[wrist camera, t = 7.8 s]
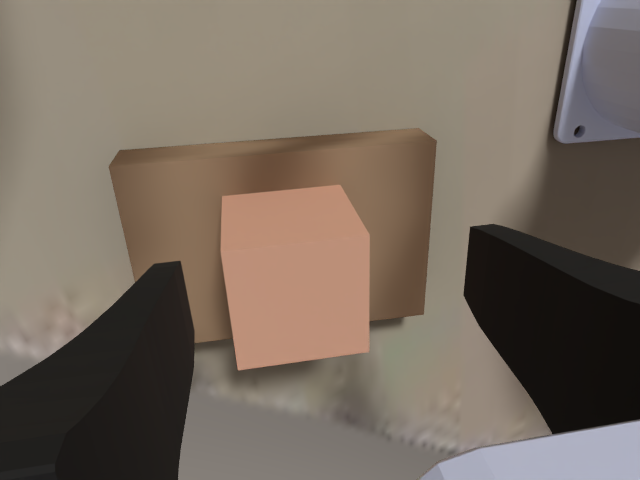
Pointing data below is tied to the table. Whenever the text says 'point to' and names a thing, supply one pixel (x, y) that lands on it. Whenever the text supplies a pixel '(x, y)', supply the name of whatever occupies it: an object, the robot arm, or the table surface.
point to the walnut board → (275, 175)
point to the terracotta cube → (295, 275)
